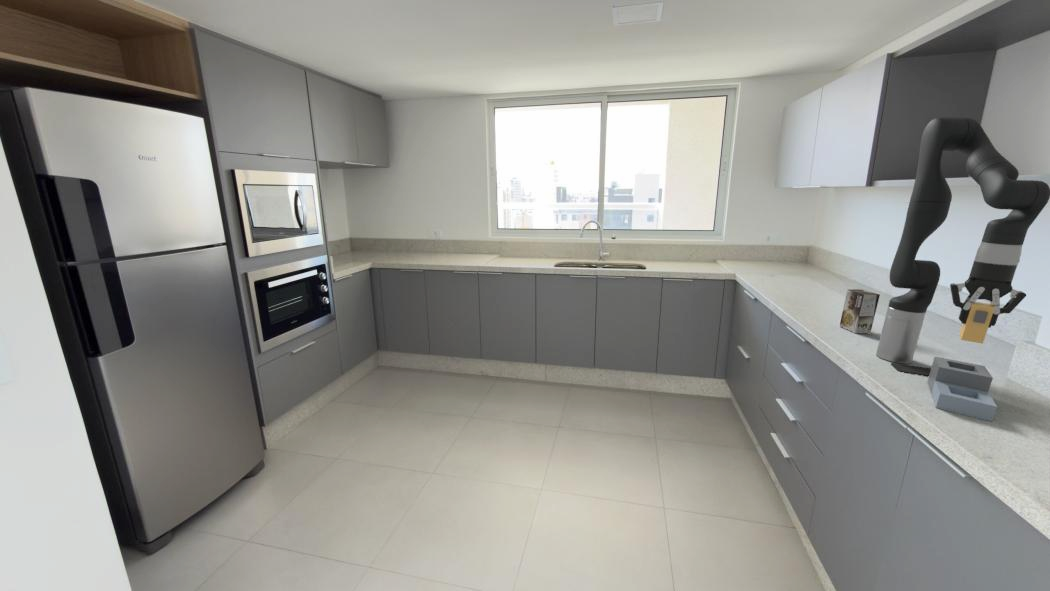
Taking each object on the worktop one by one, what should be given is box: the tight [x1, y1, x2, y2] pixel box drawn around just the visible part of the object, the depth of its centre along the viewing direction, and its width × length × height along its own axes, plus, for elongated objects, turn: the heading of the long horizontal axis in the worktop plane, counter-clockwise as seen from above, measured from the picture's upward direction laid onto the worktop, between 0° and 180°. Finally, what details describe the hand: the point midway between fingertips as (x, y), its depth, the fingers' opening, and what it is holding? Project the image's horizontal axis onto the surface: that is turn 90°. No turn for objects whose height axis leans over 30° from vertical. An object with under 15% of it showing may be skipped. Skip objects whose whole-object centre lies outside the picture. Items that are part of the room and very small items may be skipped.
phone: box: [890, 362, 931, 377], centre depth 129 cm, size 7×1×15 cm
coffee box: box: [839, 288, 881, 334], centre depth 166 cm, size 9×6×16 cm
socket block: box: [927, 356, 998, 422], centre depth 111 cm, size 20×10×8 cm, turn 141°
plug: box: [958, 301, 995, 344], centre depth 110 cm, size 5×4×10 cm
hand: (975, 324), depth 111 cm, fingers closed on plug, 4 cm apart
